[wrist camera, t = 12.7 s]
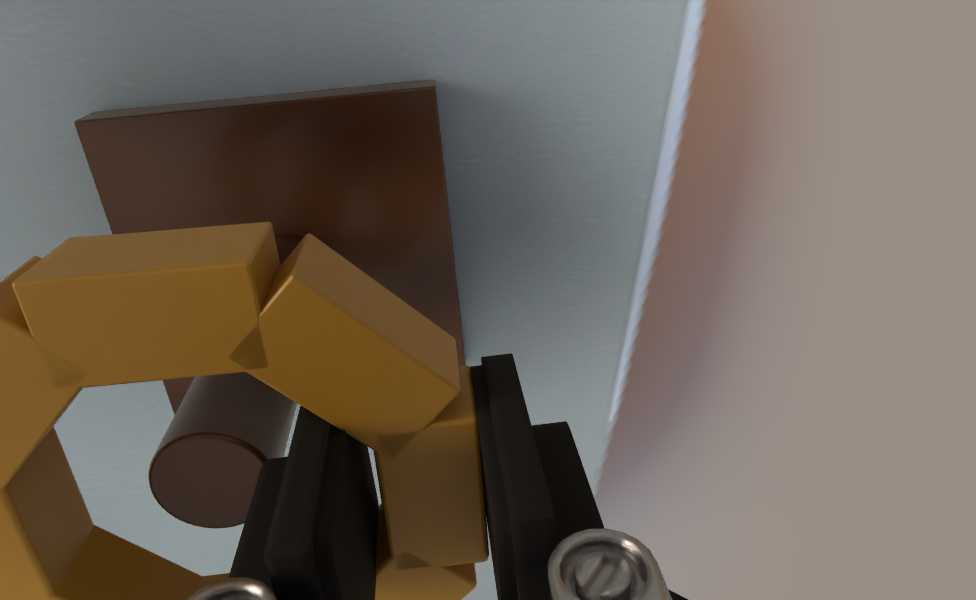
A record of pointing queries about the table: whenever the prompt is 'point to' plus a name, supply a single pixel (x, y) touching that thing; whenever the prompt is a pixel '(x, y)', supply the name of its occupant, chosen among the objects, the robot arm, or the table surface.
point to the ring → (222, 350)
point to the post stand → (277, 239)
